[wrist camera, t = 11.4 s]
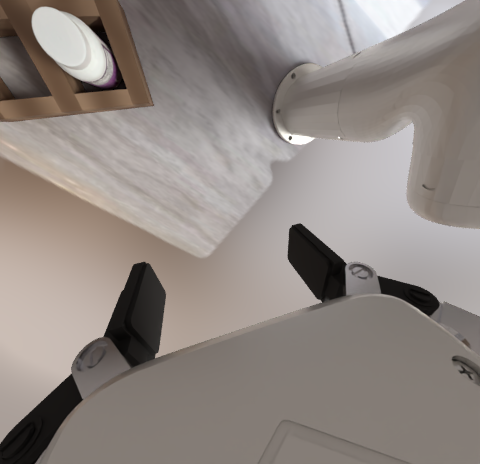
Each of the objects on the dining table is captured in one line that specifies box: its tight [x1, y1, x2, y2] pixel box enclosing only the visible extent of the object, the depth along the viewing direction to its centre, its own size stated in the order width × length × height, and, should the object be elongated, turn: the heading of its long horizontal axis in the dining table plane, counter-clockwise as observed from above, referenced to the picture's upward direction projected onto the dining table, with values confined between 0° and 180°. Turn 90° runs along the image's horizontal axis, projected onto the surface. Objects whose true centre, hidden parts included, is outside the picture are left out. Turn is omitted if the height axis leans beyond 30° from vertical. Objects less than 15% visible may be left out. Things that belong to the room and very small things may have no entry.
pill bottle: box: [32, 7, 122, 90], centre depth 20 cm, size 5×5×10 cm
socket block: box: [0, 0, 154, 122], centre depth 22 cm, size 20×10×4 cm, turn 96°
